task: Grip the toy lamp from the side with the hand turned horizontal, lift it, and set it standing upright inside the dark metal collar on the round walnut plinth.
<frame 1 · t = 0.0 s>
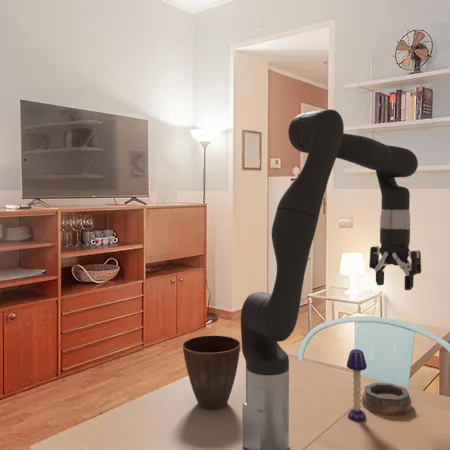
hand: (394, 287, 136), 29 cm above the table, tool pointing down, fingers open, 8 cm apart
plant pot: (212, 404, 133), on the table
toy lamp: (356, 418, 124), on the table
plinth: (386, 405, 131), on the table
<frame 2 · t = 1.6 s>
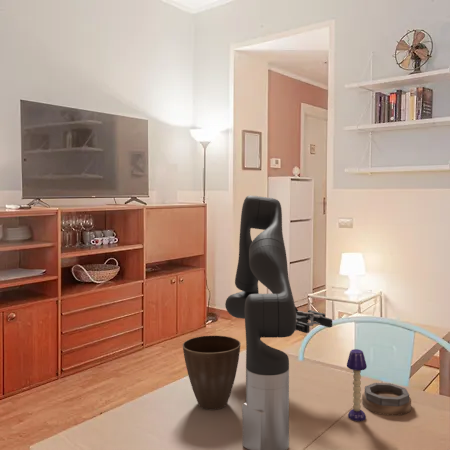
hand: (320, 326, 132), 20 cm above the table, tool horizontal, fingers open, 8 cm apart
nothing on the table moved.
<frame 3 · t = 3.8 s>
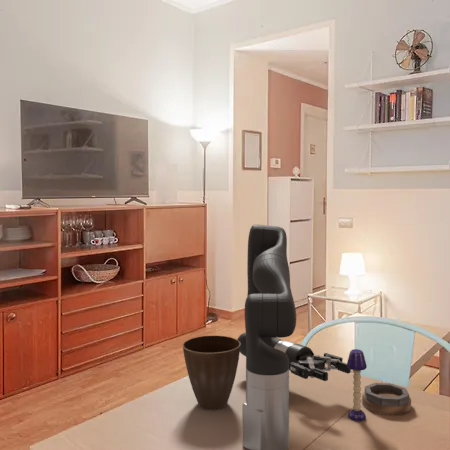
hand: (338, 373, 128), 10 cm above the table, tool horizontal, fingers open, 8 cm apart
nothing on the table moved.
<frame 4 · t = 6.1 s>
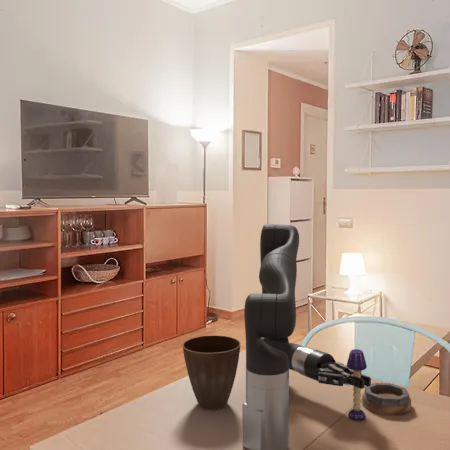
hand: (366, 383, 121), 10 cm above the table, tool horizontal, fingers closed on toy lamp
toy lamp: (356, 418, 124), on the table, touching gripper
everything else where it was.
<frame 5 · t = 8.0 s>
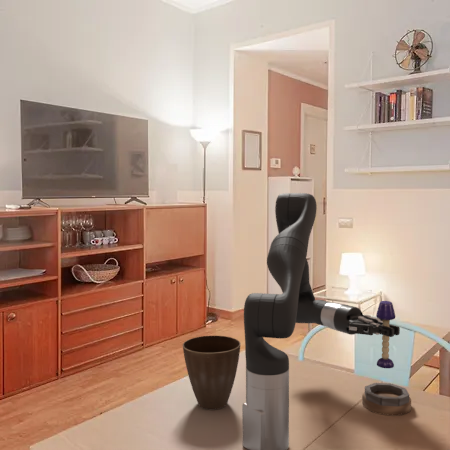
hand: (395, 331, 127), 20 cm above the table, tool horizontal, fingers closed on toy lamp
toy lamp: (384, 366, 131), point 10 cm above the table, touching gripper
everything else where it was.
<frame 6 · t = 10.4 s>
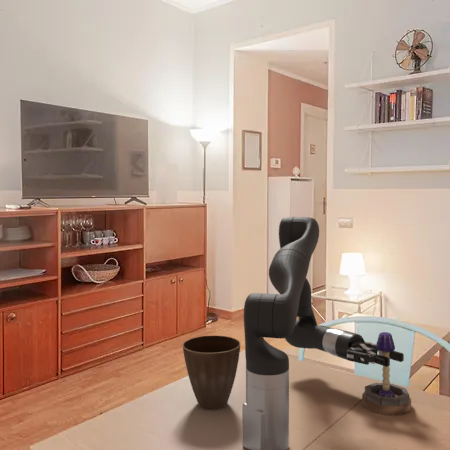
hand: (395, 360, 128), 13 cm above the table, tool horizontal, fingers open, 5 cm apart
toy lamp: (385, 398, 131), point 2 cm above the table, touching plinth
everything else where it was.
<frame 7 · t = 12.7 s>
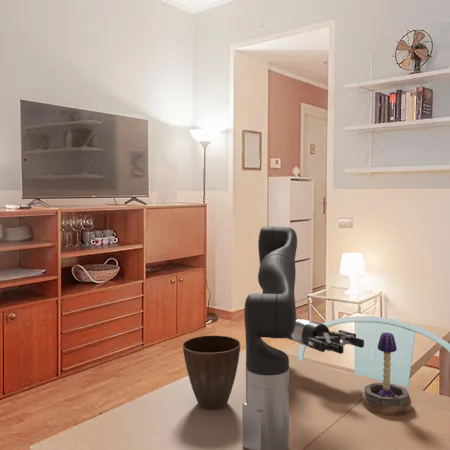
hand: (353, 346, 139), 13 cm above the table, tool horizontal, fingers open, 8 cm apart
nothing on the table moved.
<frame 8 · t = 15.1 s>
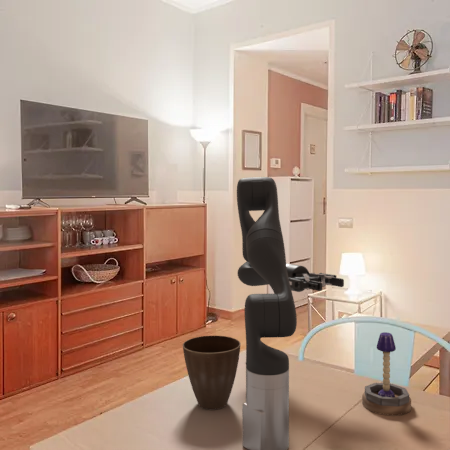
hand: (332, 285, 136), 30 cm above the table, tool horizontal, fingers open, 8 cm apart
nothing on the table moved.
at the end: toy lamp 0.2 cm off-centre on the plinth, point 1.8 cm above the plinth's base; toy lamp tilted 0°; the gripper is holding nothing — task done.
